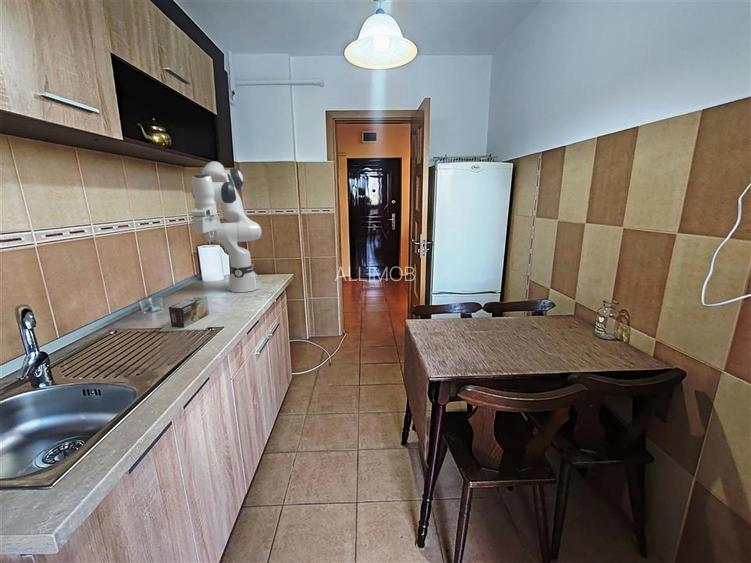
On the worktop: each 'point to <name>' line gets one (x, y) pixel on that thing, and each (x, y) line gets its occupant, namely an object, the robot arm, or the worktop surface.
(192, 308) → the coffee box
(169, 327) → the mat
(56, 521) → the worktop surface
